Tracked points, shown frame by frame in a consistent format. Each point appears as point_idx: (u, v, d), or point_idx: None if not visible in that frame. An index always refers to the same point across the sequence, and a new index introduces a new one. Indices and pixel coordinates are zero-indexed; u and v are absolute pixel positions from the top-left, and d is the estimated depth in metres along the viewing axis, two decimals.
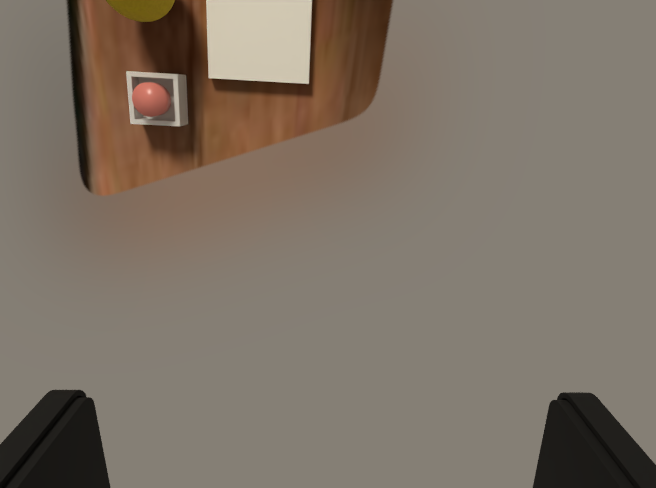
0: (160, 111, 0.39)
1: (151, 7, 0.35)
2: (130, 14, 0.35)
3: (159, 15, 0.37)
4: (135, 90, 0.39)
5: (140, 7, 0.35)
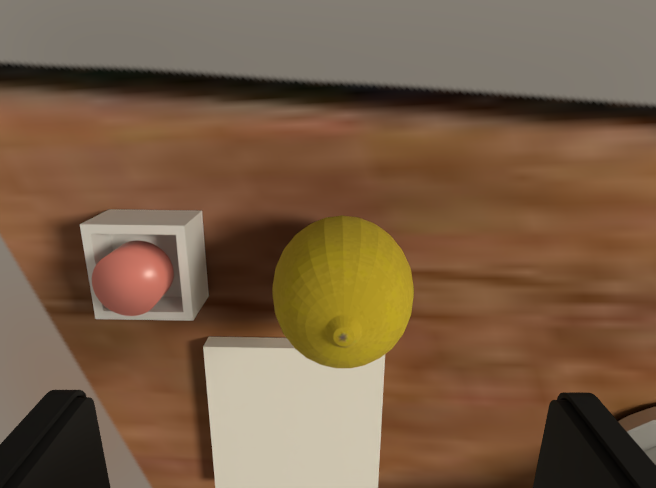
0: (106, 304, 0.19)
1: None
2: (274, 300, 0.17)
3: None
4: (140, 260, 0.18)
5: (286, 335, 0.16)
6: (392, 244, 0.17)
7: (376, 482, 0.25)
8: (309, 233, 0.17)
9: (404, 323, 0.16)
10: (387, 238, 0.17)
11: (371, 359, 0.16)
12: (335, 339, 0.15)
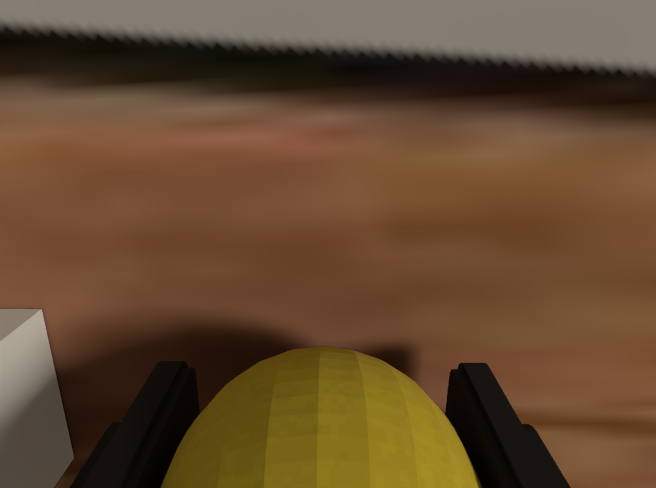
0: None
1: None
2: None
3: None
4: None
5: None
6: (450, 467, 0.06)
7: None
8: (229, 438, 0.06)
9: None
10: (435, 444, 0.07)
11: None
12: None
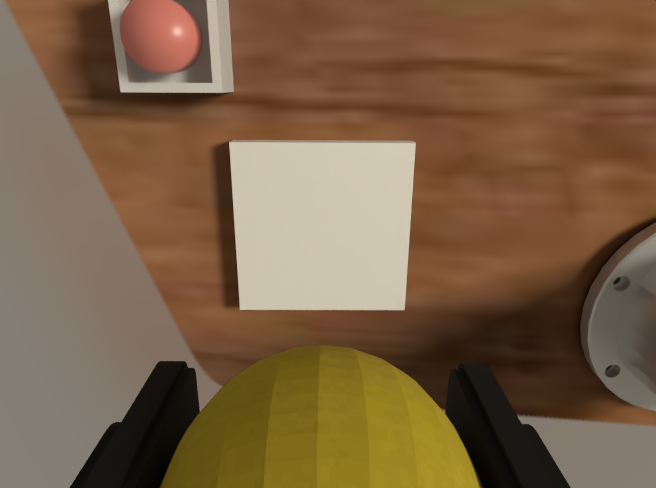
0: (134, 58, 0.18)
1: None
2: None
3: None
4: (170, 3, 0.18)
5: None
6: (450, 465, 0.06)
7: (403, 298, 0.25)
8: (228, 436, 0.06)
9: None
10: (435, 443, 0.07)
11: None
12: None
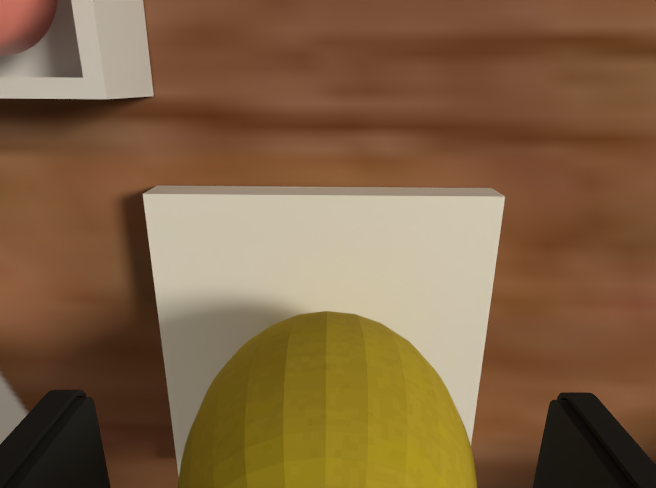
0: None
1: None
2: None
3: None
4: None
5: None
6: (435, 400, 0.08)
7: None
8: (253, 375, 0.08)
9: None
10: (423, 383, 0.08)
11: None
12: None
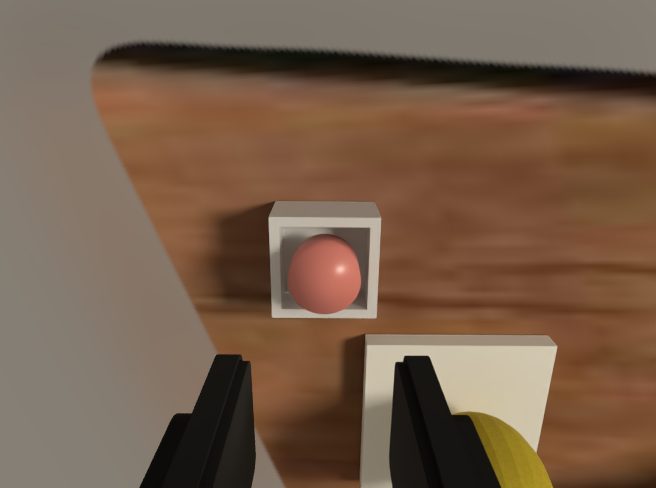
0: (300, 302, 0.18)
1: None
2: None
3: None
4: (343, 255, 0.17)
5: None
6: (538, 464, 0.18)
7: None
8: None
9: None
10: (532, 456, 0.18)
11: None
12: None
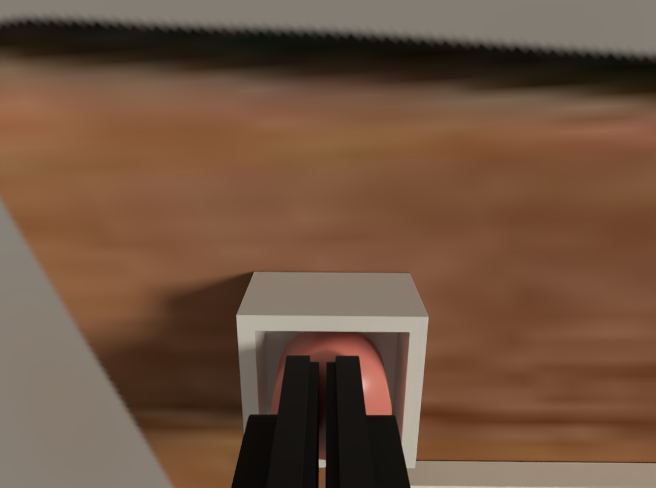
0: None
1: None
2: None
3: None
4: (362, 373, 0.10)
5: None
6: None
7: None
8: None
9: None
10: None
11: None
12: None
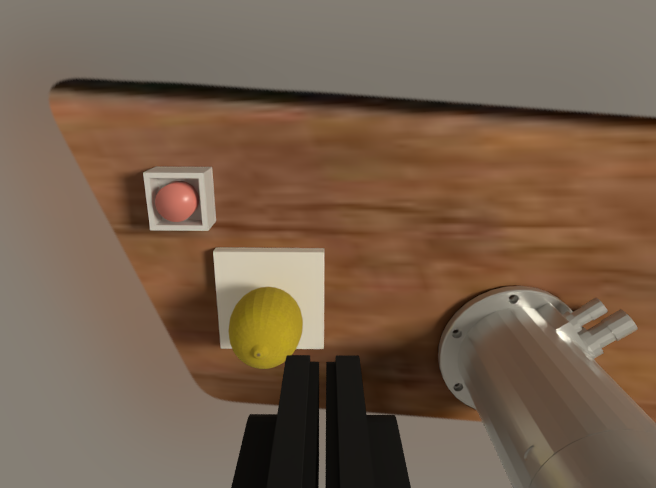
0: (162, 215, 0.34)
1: None
2: None
3: None
4: (182, 189, 0.33)
5: (234, 352, 0.33)
6: (289, 305, 0.34)
7: (322, 341, 0.40)
8: (247, 299, 0.33)
9: (292, 346, 0.33)
10: (287, 302, 0.34)
11: (275, 364, 0.33)
12: (255, 355, 0.31)
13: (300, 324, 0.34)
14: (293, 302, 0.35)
